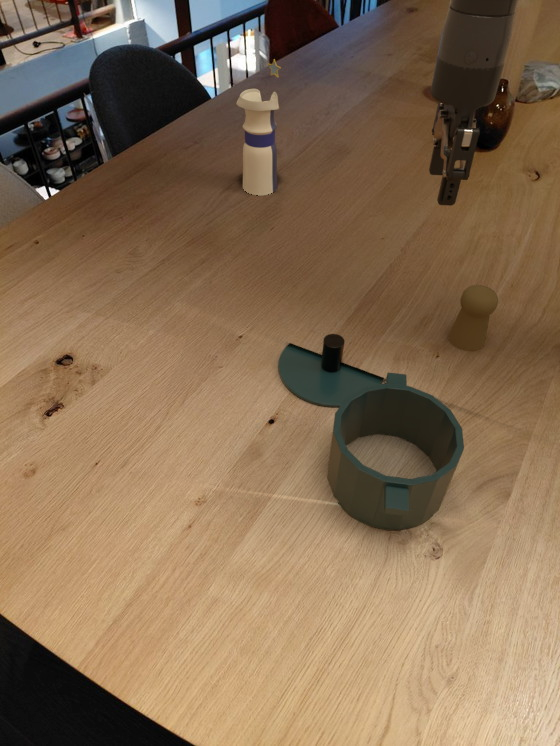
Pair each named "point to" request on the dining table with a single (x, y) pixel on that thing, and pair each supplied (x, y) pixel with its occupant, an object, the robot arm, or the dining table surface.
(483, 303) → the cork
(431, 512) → the pot
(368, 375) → the lid
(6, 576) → the dining table surface
